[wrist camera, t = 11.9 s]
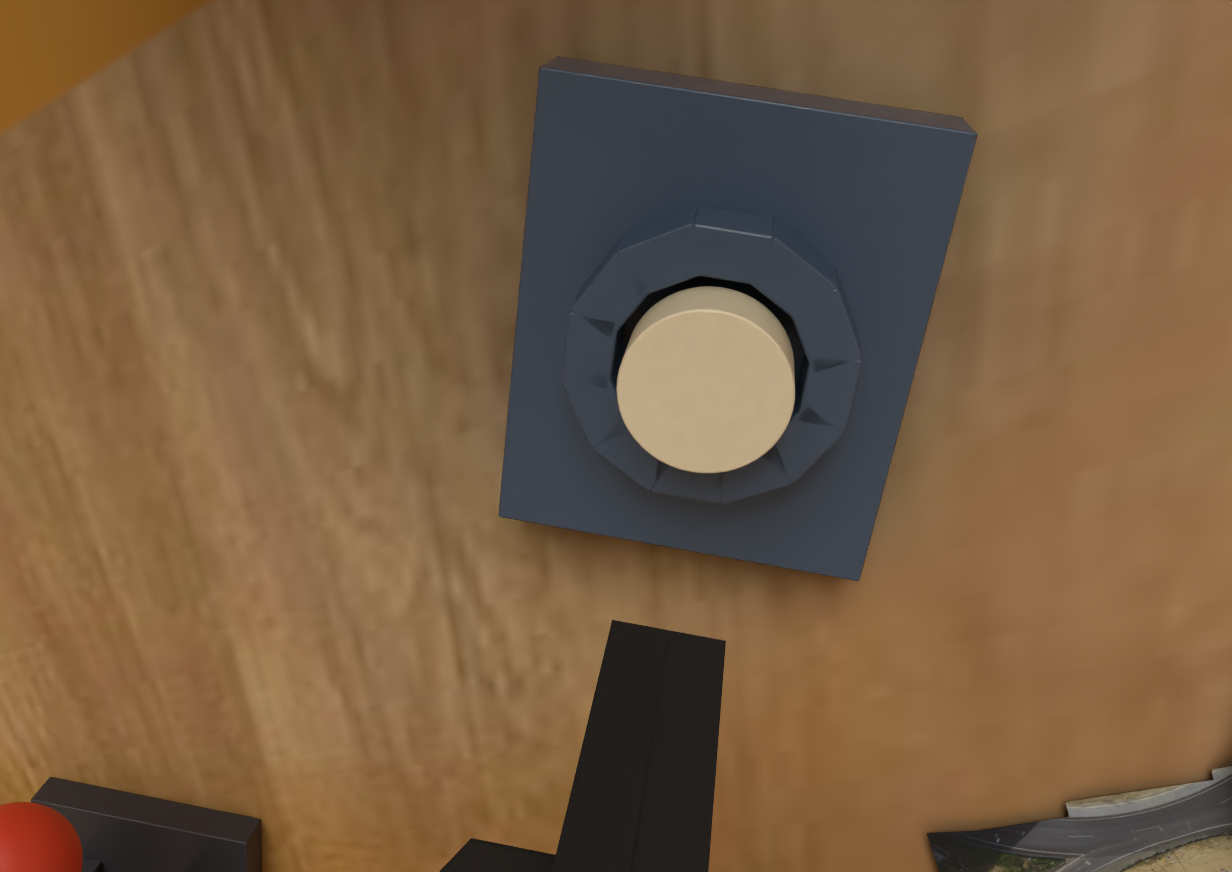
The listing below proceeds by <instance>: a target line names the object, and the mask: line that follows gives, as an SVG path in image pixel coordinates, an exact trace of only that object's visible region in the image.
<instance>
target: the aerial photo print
mask: <svg viewBox="0 0 1232 872" xmlns="http://www.w3.org/2000/svg"><path fill="white" fill-rule="evenodd" d="M1212 775H1213V780H1209V781H1203V782H1195V783H1189V784H1181V785H1174V786H1168V787H1162V788H1155V789H1148V790H1141V791H1134V792H1129V793H1121V794H1115V795H1108V796H1101V797H1094V798H1088V799H1081V800H1075V801H1069V802H1065V803H1066V806H1067V810H1068V814H1069V817H1064V818H1057V819H1050V820H1044V821H1038V822H1031V823H1024V824H1018V825H1013V826H1006V827H999V828H993V829H987V830H980V831H967V832H966V831H961V832H941V833H927V836H928V838H929V841H930V844H931V848H932V851H933V854H934V857H935V860H936V863H937V866H938V869H939V872H1232V766H1230V767H1224V768H1219V769H1212Z"/></svg>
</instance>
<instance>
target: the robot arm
mask: <svg viewBox="0 0 1232 872" xmlns="http://www.w3.org/2000/svg"><path fill="white" fill-rule="evenodd" d="M725 643H726V641H723V640H718V639H713V638H707V637H702V636H696V635H691V634H685V633H680V632H675V631H669V630H664V629H658V628H653V627H648V626H642V625H637V624H631V623H626V622H620V621H615V620H612V623H611V628H610V632H609V636H608V640H607V644H606V648H605V653H604V657H603V661H602V665H601V669H600V674H599V678H598V682H597V686H596V690H595V694H594V699H593V703H592V707H591V711H590V715H589V719H588V724H587V728H586V732H585V736H584V740H583V744H582V749H581V753H580V757H579V761H578V765H577V770H576V774H575V778H574V782H573V786H572V790H571V795H570V799H569V803H568V807H567V811H566V815H565V820H564V824H563V828H562V832H561V836H560V840H559V845H558V849H557V853H556V855H553V854H548V853H543V852H538V851H533V850H528V849H523V848H518V847H513V846H508V845H503V844H498V843H493V842H488V841H483V840H478V839H473V838H471V839H470V840H469V841H468V842H467V843H466V844H465V845H464V846H463V847H462V849H461V850H460V851H459V852H458V853H457V854H456V855H455V856H454V857H453V858H452V859H451V860H450V861H449V862H448V863H447V864H446V865H445V866H444V867H443V868H442V869H441V870H440V872H708V867H709V854H710V841H711V828H712V815H713V802H714V788H715V775H716V762H717V749H718V736H719V722H720V709H721V696H722V683H723V670H724V657H725Z"/></svg>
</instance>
